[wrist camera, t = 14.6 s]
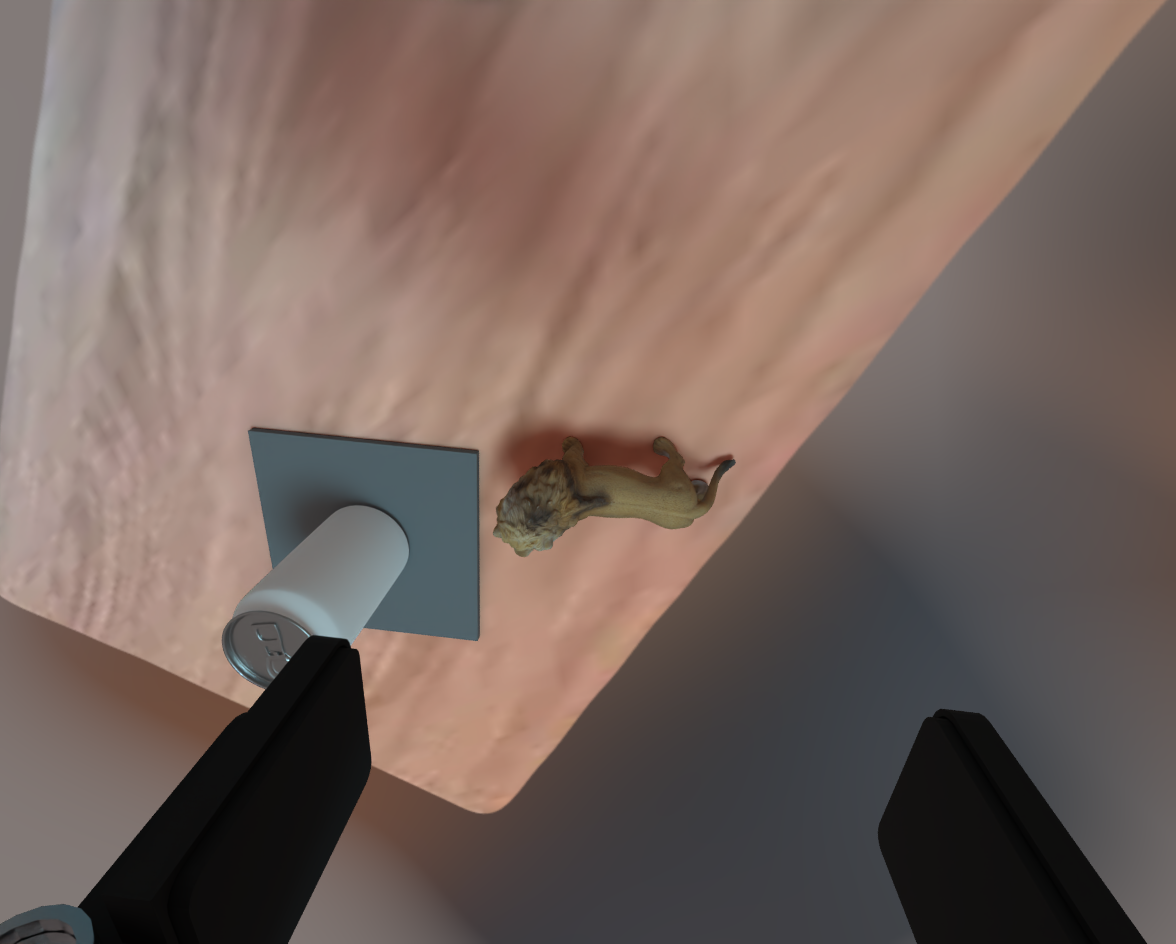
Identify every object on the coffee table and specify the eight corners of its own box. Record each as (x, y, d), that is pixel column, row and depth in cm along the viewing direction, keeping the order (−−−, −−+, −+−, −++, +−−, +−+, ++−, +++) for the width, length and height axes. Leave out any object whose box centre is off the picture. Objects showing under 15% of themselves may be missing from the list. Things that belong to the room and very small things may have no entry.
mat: (253, 427, 39) (247, 430, 39) (478, 450, 39) (476, 453, 38) (285, 613, 46) (281, 618, 45) (479, 635, 45) (477, 641, 44)
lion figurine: (524, 508, 40) (495, 581, 32) (511, 438, 38) (476, 497, 30) (735, 491, 38) (761, 564, 30) (732, 417, 36) (760, 473, 28)
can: (340, 580, 43) (239, 701, 32) (314, 506, 41) (194, 608, 30) (421, 575, 42) (345, 697, 31) (398, 498, 40) (307, 601, 29)
